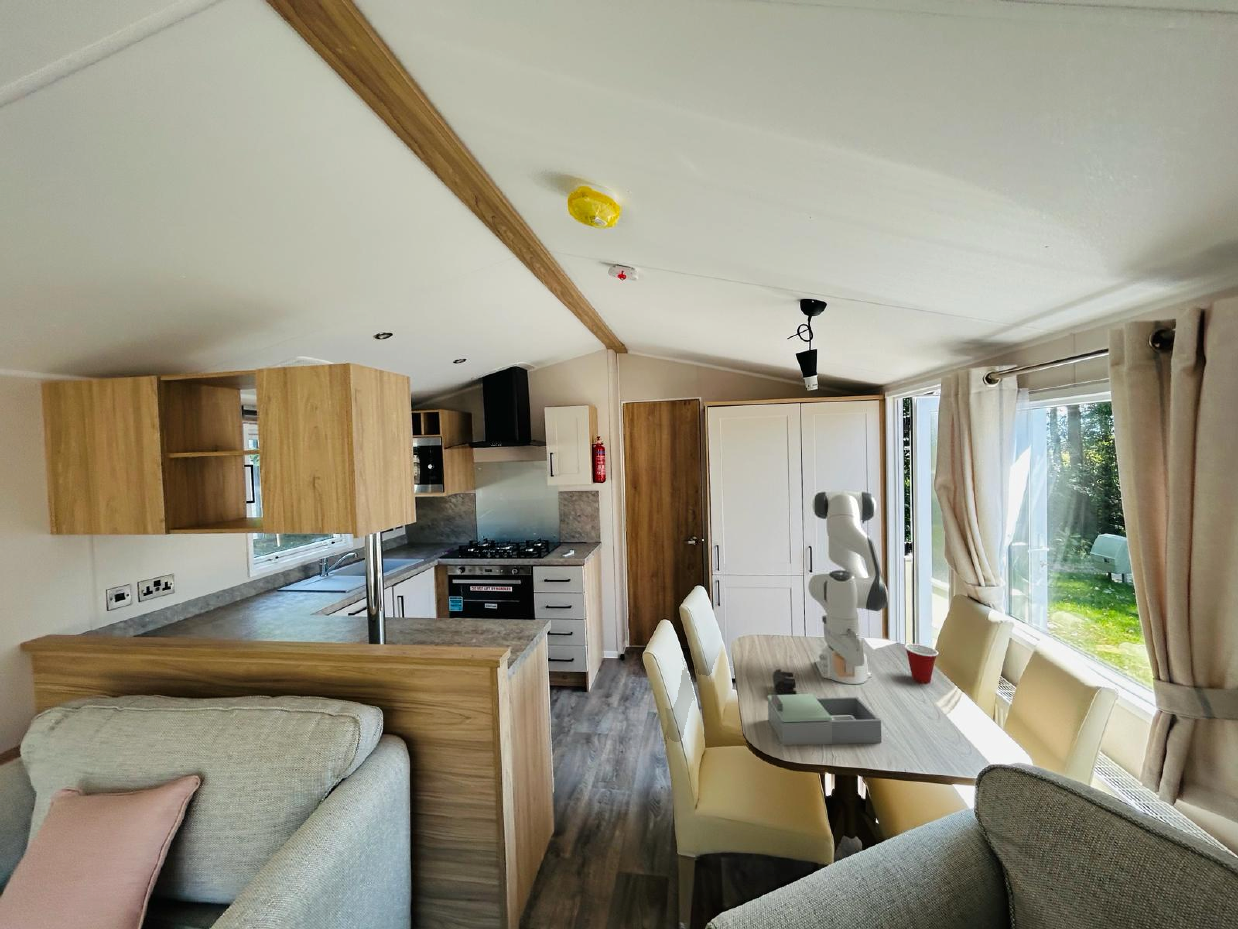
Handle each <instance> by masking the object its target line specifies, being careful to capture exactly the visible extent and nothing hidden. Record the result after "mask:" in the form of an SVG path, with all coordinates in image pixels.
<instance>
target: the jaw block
mask: <svg viewBox="0 0 1238 929" xmlns="http://www.w3.org/2000/svg"><path fill="white" fill-rule="evenodd" d="M833 656H834V672H835V673H836V674H837V675H838V676H839V677H855V666H853V668H852V674H847V673H846V672H845V669H844V666H846V662H845V659H844V658H843V657H842V656H841V655H839V654H833Z"/></svg>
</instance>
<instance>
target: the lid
mask: <svg viewBox="0 0 1238 929" xmlns="http://www.w3.org/2000/svg"><path fill="white" fill-rule="evenodd" d="M768 700H769V701H770V703H771V704H772V706H773V708H774V709H775V711H776V713H777V714H778V716H779V718H780V719H781V721H782V722H802V721H831V716H830V715H829V714H828V712H827V711H826V710H825V709H824V708H823V706H822V705H821V704H820V703H819V701H818V700H817V699H816V696H814V694H813V693H807V694H806V693H805V694H799V693H798V694H796V695H777V694H770V695H767V701H768Z"/></svg>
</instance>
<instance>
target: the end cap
mask: <svg viewBox="0 0 1238 929" xmlns="http://www.w3.org/2000/svg"><path fill="white" fill-rule="evenodd" d="M772 681H773V685H774V686H773V687H774V691H775V694H776V695H797V691H796V690H794V689H795V688H797V686H796V683H797V682H796V679H795V678H794V673H793V672H792V671H791V672H789V671H782V669H781V668H780V669H779V668H778V669H776V670H775V671H774V672H773V673H772Z"/></svg>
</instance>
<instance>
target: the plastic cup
mask: <svg viewBox="0 0 1238 929" xmlns="http://www.w3.org/2000/svg"><path fill="white" fill-rule="evenodd" d="M904 649H905V651H906V654H907V658H908V664H909V669H910V672H911V678H912V679H913V681H915V682H917V683H921V684H930V683H931V681H932V676H933V672H934V666H935V661H936V657H937V656H938V655H939V651H937V650H936V649H934V648H933V647H929V646H927V645H923V644H918V643H907V644H905V645H904Z"/></svg>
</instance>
